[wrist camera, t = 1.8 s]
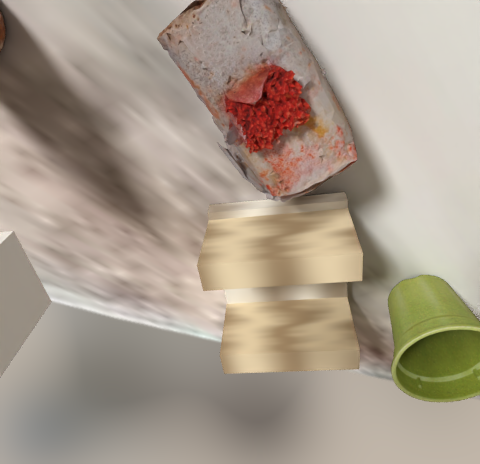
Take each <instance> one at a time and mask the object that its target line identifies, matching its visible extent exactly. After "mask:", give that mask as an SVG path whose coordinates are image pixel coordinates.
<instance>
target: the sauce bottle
mask: <svg viewBox="0 0 480 464" xmlns="http://www.w3.org/2000/svg"><path fill="white" fill-rule="evenodd" d="M5 35H6V34H5V24H4V18H3V16H2V14H1V11H0V52H1V50H2V48H3V43H4V39H5Z"/></svg>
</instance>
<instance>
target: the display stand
mask: <svg viewBox="0 0 480 464" xmlns="http://www.w3.org/2000/svg"><path fill="white" fill-rule="evenodd" d="M207 214H208V218H209V222H208V226H207V230H206V234H205V237H204V241H203V245H202V249H201V253H200V256H199V260H198V264H197V267H198V271H199V275H200V279H201V283H202V287H203V291H209V290H224V293H225V298H226V302H227V306H226V314H225V321H224V328H223V335H222V342H221V350H220V358H221V362H222V366H223V370H224V373H225V374H227V373H253V372H254V373H257V372H286V371H313V370H314V371H316V370H346V369H359V362H360V348H359V344H358V340H357V335H356V331H355V327H354V323H353V319H352V314H351V310H350V306H349V302H348V298H347V282H351V281H362V270H363V252H362V249H361V246H360V243H359V240H358V237H357V234H356V231H355V228H354V225H353V222H352V219H351V216H350V213H349V210H348V199H347V196H346V193H345V192H342V193H331V194H320V195H309V196H299V197H293V198H292V199H290V200H287V201H285V202H284V203H283V202H281V201H280V200H279V201H273V200H271V199H266V200H256V201H245V202H234V203H224V204H213V205H209V209H208V213H207Z"/></svg>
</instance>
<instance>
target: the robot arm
mask: <svg viewBox="0 0 480 464" xmlns="http://www.w3.org/2000/svg"><path fill="white" fill-rule="evenodd" d="M50 304H51V300H50V298H49V296H48V294H47V293H46V291H45V289H44V287H43V285H42V283H41V281H40V279H39V278H38V276H37V274H36V272H35V270H34V268H33V266H32V264H31V263H30V261H29V259H28V257H27V255H26V253H25V251H24V250H23V248H22V246H21V244H20V242H19V240H18V238H17V236H16V235H15V233H14V231H8V232H0V377H1V376H2V374H3V373H4V371H5V370H6V368H7V367H8V366H9V364H10V362H11V361H12V360H13V358H14V357H15V355H16V354H17V352H18V351H19V349H20V348H21V346H22V345H23V343H24V342H25V340H26V339H27V337H28V336H29V335H30V333H31V331H32V330H33V329H34V327H35V326H36V324H37V323H38V321H39V320H40V318H41V317H42V315H43V314H44V312H45V311H46V309H47V308H48V306H49V305H50Z"/></svg>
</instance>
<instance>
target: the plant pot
mask: <svg viewBox="0 0 480 464" xmlns="http://www.w3.org/2000/svg"><path fill="white" fill-rule="evenodd" d="M388 307H389V313H390V319H391V325H392V332H393V339H394V346H395V349H394V355H393V356H394V359H393V361H392V365H391V374H392V378H393V380H394V382H395V384H396V385H397V387H398V388H399V389H400V390H402V391H403V392H404V393H406V394H408V395H409V396H411V397H413V398H416V399H420V400H424V401H429V402H453V401H460V400H465V399H468V398H472V397H475V396H477V395H480V321H479V320H478V319H477V318H476V316H475V315H474V314H473V313H472V312H471V311H470V309H469V308H468V307H467V306H466V305H465V303H464V302H463V301H462V300H461V299H460V297H459V296H458V295H457V294H456V293H455V292H454V290H453V289H452V288H451V287H450V286H449V284H448V283H447V282H445V281H444V280H443V279H441V278H439V277H436V276H431V275H420V276H418V277H416V278H412V279H406V280H403V281H401V282H400V283H399V284H397V285H396V286H395V287H394V288H393V289H392V291H391V293H390V295H389V298H388Z"/></svg>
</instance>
